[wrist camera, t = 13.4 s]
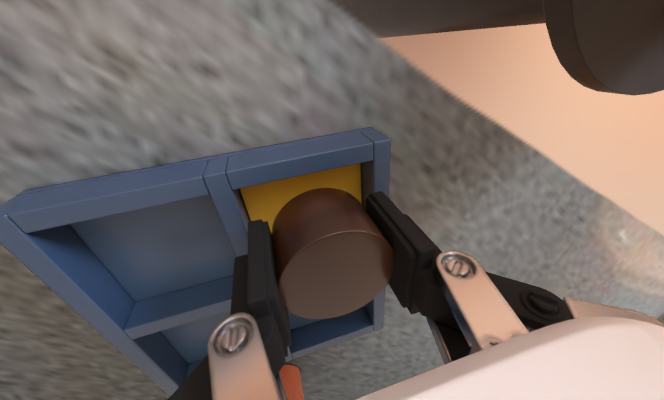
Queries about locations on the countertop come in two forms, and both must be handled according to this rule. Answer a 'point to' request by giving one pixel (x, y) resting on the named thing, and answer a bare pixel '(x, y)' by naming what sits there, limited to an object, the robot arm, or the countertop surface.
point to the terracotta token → (292, 382)
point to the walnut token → (328, 254)
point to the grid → (184, 244)
